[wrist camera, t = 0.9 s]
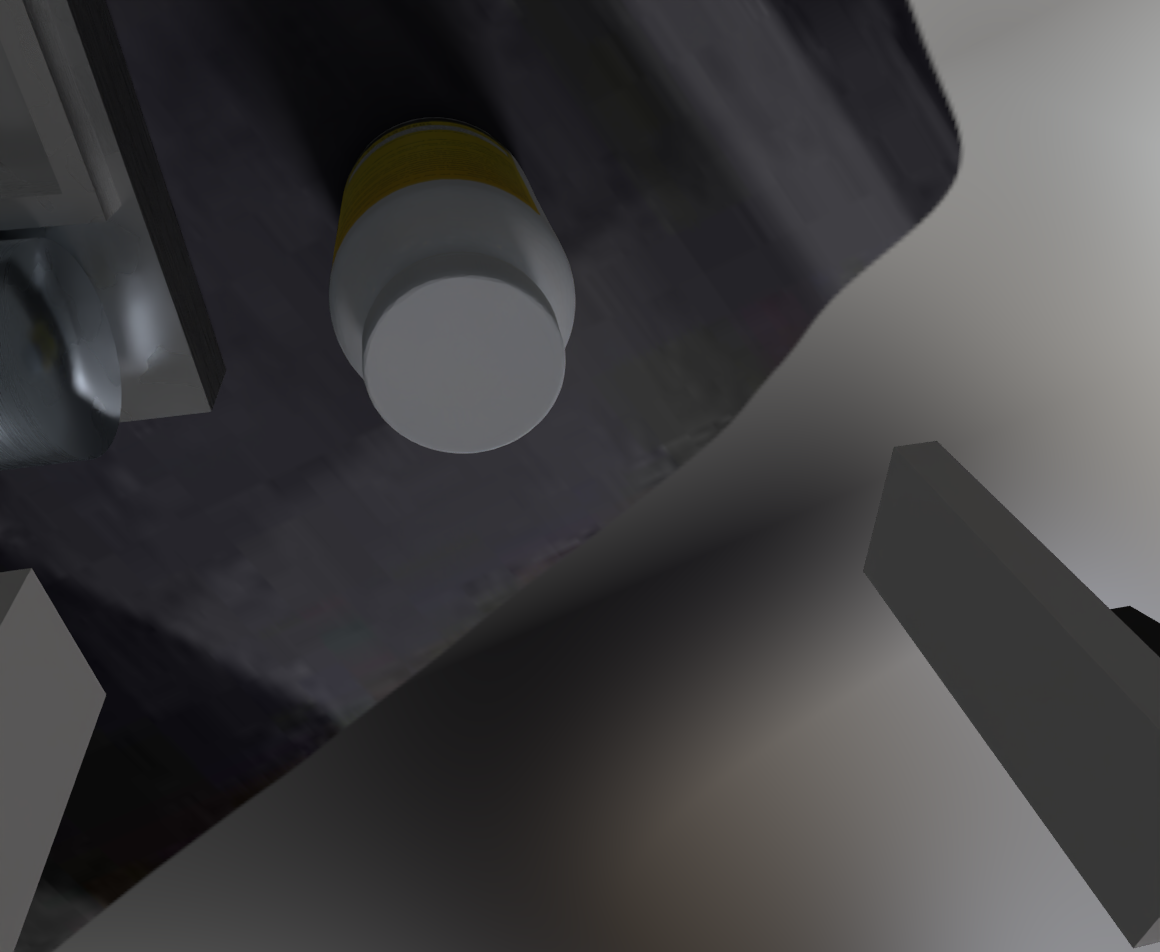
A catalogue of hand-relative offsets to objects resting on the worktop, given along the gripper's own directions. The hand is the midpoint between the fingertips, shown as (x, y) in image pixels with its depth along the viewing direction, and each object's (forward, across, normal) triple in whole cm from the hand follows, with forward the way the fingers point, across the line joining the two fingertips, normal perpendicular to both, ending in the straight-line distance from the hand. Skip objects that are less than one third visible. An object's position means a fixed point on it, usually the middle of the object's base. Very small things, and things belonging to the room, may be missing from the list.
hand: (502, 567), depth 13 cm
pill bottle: (+19, 0, 0) cm, 19 cm away
